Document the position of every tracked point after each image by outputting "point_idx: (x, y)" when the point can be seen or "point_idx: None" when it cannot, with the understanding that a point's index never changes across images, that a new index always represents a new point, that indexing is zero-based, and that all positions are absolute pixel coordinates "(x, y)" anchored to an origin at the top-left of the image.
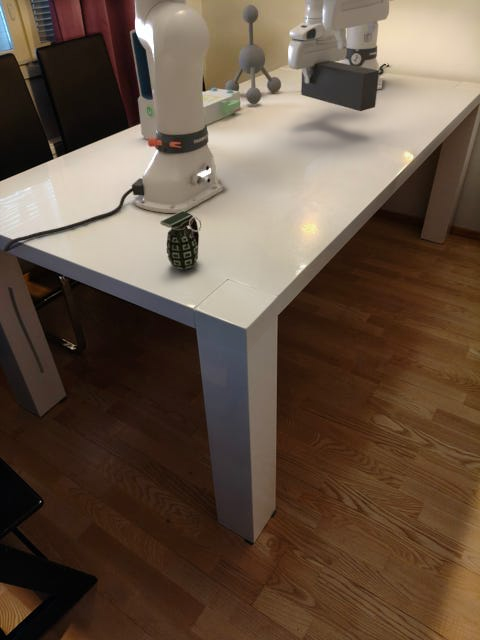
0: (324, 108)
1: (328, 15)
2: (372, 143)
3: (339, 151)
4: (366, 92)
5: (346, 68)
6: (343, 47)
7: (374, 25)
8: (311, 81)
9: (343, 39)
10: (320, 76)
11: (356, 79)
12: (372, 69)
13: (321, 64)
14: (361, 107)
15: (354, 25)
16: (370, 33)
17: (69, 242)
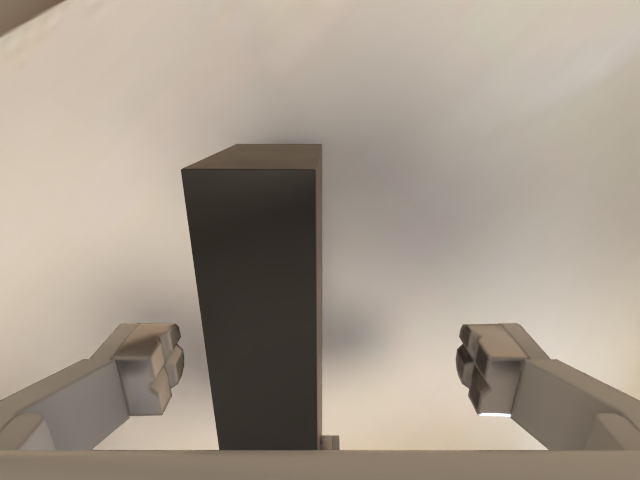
0: (177, 419)
1: None
2: (287, 99)
3: (420, 117)
4: (290, 153)
5: (284, 336)
6: (501, 324)
7: (15, 422)
8: (322, 437)
9: (550, 368)
10: (319, 420)
11: (317, 217)
12: (195, 217)
13: None
14: (318, 145)
15: (478, 455)
16: (110, 377)
17: None
